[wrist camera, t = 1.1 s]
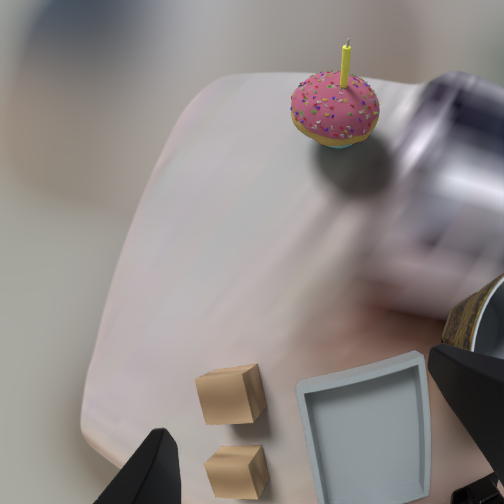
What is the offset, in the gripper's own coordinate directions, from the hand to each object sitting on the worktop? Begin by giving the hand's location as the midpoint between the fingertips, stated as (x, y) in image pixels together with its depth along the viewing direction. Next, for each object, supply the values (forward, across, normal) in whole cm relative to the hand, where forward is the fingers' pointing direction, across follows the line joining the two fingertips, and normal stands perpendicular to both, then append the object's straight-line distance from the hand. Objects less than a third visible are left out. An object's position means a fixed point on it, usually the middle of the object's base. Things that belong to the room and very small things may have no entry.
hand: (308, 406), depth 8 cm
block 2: (+12, +6, +20) cm, 24 cm away
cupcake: (+23, -12, -9) cm, 27 cm away
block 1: (+16, +4, +12) cm, 20 cm away
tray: (+8, -6, +18) cm, 21 cm away
